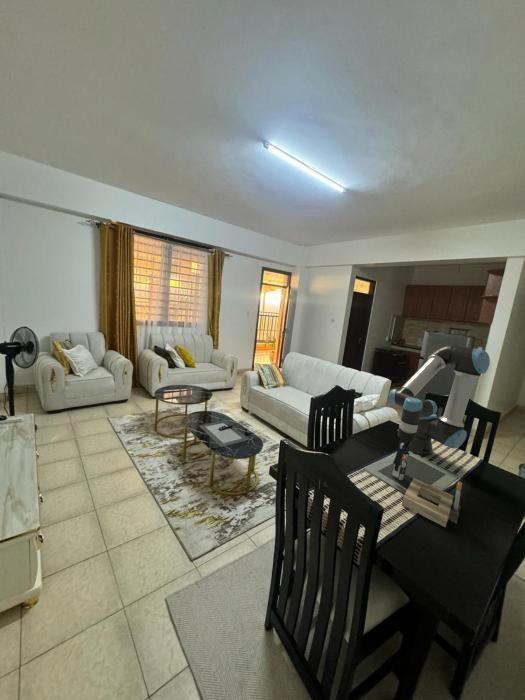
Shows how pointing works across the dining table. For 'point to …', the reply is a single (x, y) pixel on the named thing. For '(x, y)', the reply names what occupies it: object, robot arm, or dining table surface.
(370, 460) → the dining table surface
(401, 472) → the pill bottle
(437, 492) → the block
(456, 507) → the ring bar
